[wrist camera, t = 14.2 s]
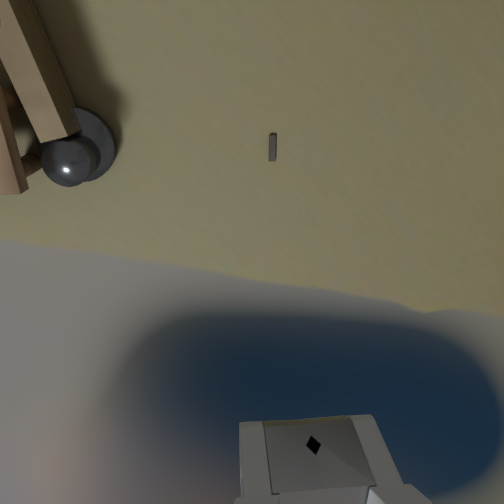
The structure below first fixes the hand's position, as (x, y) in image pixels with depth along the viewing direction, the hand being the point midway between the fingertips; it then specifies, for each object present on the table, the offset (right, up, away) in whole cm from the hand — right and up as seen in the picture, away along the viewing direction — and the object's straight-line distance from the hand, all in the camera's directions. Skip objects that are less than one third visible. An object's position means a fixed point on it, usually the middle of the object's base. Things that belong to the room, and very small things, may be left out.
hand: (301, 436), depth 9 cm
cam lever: (-18, +19, +23) cm, 35 cm away
